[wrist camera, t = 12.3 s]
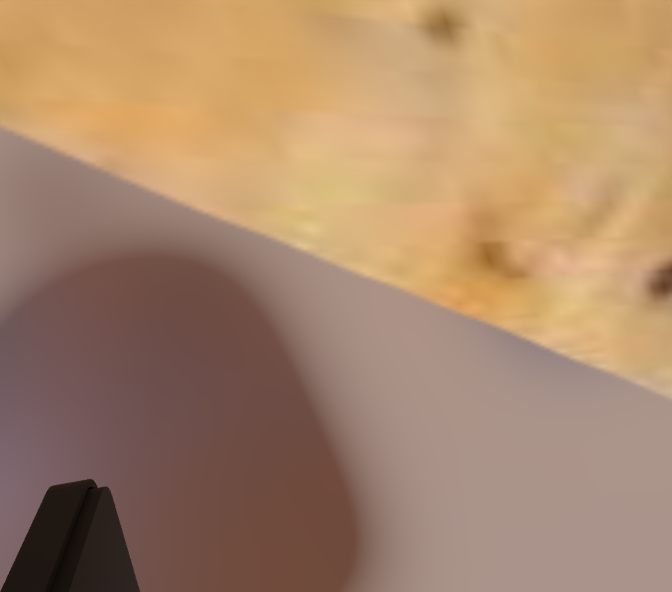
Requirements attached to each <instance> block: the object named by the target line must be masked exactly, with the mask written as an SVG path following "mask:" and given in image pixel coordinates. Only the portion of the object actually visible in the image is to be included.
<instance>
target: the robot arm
mask: <svg viewBox="0 0 672 592" xmlns="http://www.w3.org/2000/svg"><path fill="white" fill-rule="evenodd" d="M0 592H140V590H139V587H138V584H137V580H136V576H135V573H134V570H133V566H132V563H131V559H130V556H129V552H128V549H127V546H126V542H125V539H124V535H123V532H122V528H121V525H120V522H119V518H118V515H117V511H116V508H115V504H114V501H113V497H112V495H111V492H110V490H109V488H108V487H100V488H97V485H96V483H95V482H94V481H93V480H92V479H87V480H82V481H76V482H71V483H65V484H60V485H54V486H51V487H50V488H49V489H48V491H47V492H46V494H45V496H44V499H43V501H42V503H41V505H40V507H39V509H38V512H37V514H36V516H35V518H34V520H33V522H32V524H31V527H30V529H29V531H28V533H27V535H26V537H25V540H24V542H23V544H22V546H21V548H20V551H19V553H18V555H17V557H16V559H15V561H14V564H13V566H12V568H11V570H10V572H9V574H8V576H7V578H6V581H5V583H4V585H3V587H2V589H1V591H0Z"/></svg>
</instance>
